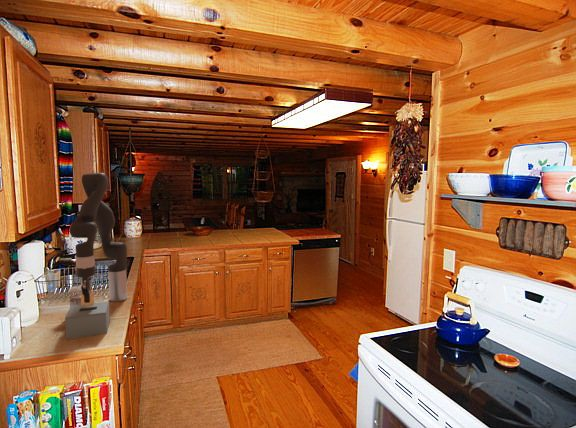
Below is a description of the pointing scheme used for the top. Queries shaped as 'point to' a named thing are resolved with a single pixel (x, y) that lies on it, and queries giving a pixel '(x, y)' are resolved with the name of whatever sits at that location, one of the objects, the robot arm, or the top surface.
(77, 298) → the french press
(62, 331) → the top surface
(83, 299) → the wooden block
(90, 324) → the box
